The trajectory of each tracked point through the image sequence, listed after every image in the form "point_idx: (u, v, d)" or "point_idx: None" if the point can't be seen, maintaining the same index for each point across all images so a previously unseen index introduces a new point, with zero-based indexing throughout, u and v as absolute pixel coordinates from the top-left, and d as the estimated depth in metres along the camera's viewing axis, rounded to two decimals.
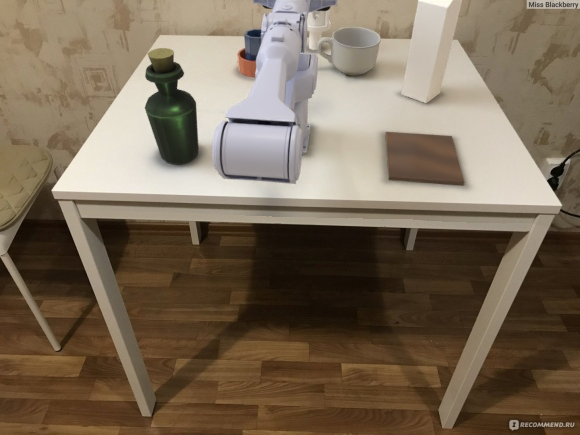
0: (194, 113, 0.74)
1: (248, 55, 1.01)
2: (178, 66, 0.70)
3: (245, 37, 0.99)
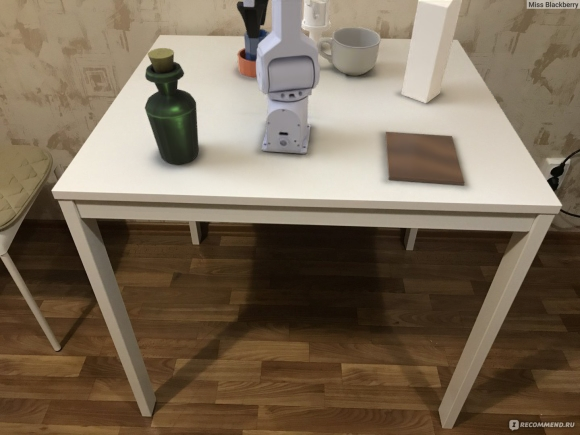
0: (194, 113, 0.74)
1: (248, 55, 1.01)
2: (178, 66, 0.70)
3: (245, 37, 0.99)
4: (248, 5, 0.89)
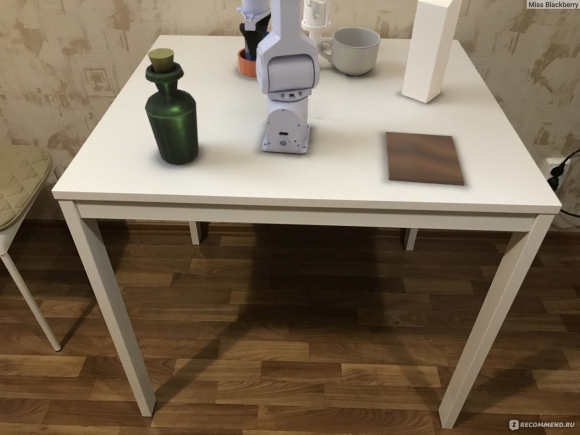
0: (194, 113, 0.74)
1: (248, 55, 1.01)
2: (178, 66, 0.70)
3: None
4: (249, 29, 0.92)
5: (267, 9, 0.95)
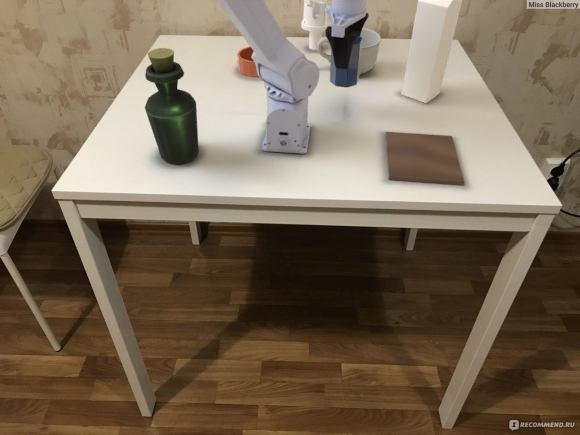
0: (194, 113, 0.74)
1: (333, 65, 0.83)
2: (178, 66, 0.70)
3: None
4: (337, 35, 0.74)
5: (362, 11, 0.76)
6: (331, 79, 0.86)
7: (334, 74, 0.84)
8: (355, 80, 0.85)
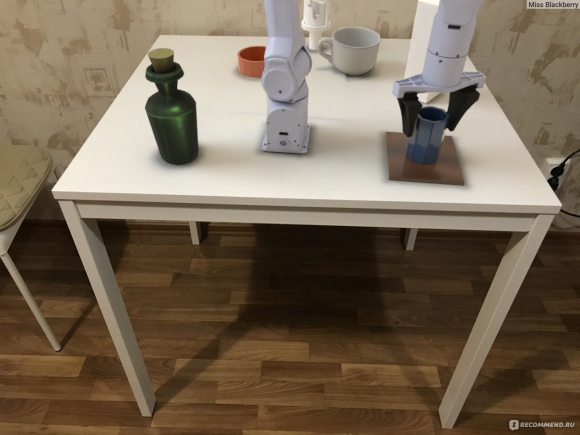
0: (194, 113, 0.74)
1: None
2: (178, 66, 0.70)
3: None
4: (394, 93, 0.69)
5: (443, 85, 0.67)
6: None
7: None
8: (422, 159, 0.76)
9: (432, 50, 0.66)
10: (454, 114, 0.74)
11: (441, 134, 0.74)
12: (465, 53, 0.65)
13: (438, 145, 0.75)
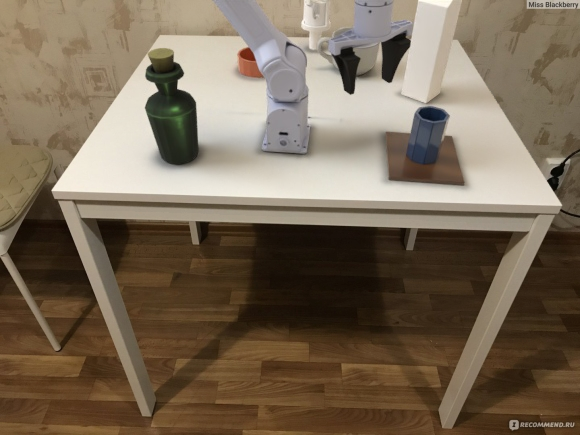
0: (194, 113, 0.74)
1: None
2: (178, 66, 0.70)
3: None
4: (331, 51, 0.70)
5: (376, 35, 0.69)
6: None
7: None
8: (422, 159, 0.76)
9: (360, 2, 0.66)
10: (390, 65, 0.76)
11: (441, 134, 0.74)
12: (391, 0, 0.66)
13: (438, 145, 0.75)
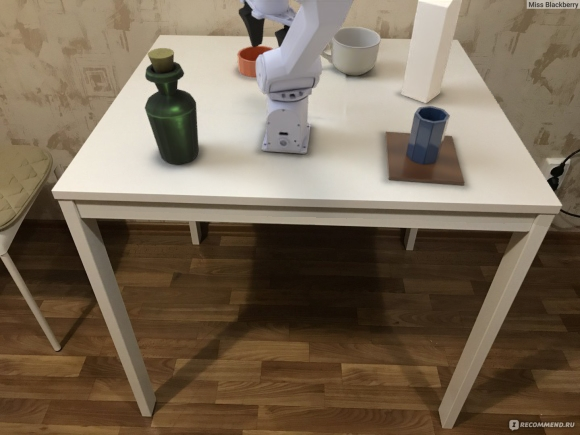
0: (194, 113, 0.74)
1: None
2: (178, 66, 0.70)
3: None
4: None
5: None
6: None
7: None
8: (422, 159, 0.76)
9: None
10: (259, 29, 0.85)
11: (441, 134, 0.74)
12: None
13: (438, 145, 0.75)
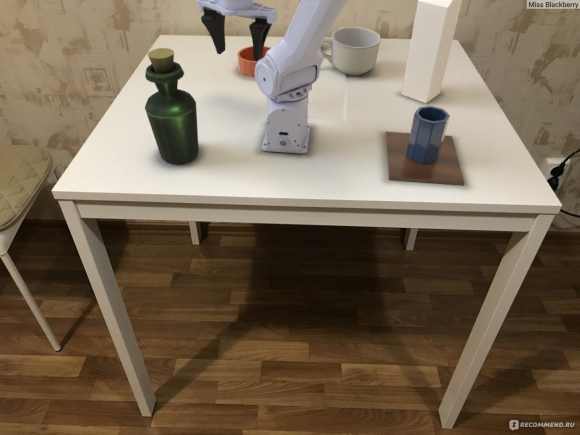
0: (194, 113, 0.74)
1: None
2: (178, 66, 0.70)
3: None
4: (274, 20, 0.79)
5: None
6: None
7: None
8: (422, 159, 0.76)
9: None
10: (222, 35, 0.85)
11: (441, 134, 0.74)
12: None
13: (438, 145, 0.75)
